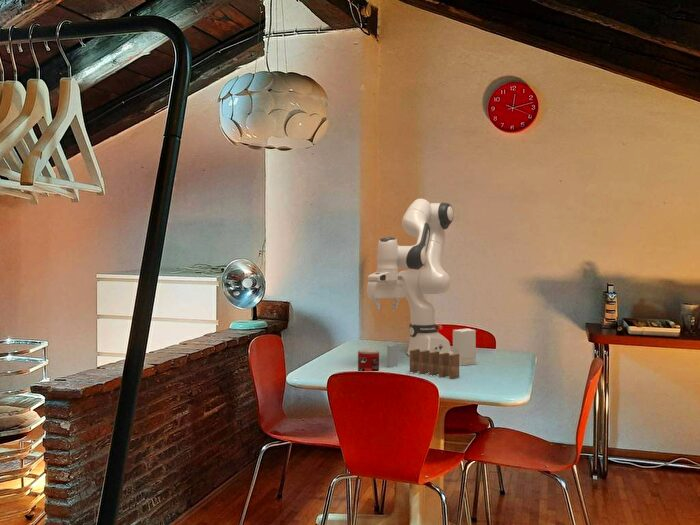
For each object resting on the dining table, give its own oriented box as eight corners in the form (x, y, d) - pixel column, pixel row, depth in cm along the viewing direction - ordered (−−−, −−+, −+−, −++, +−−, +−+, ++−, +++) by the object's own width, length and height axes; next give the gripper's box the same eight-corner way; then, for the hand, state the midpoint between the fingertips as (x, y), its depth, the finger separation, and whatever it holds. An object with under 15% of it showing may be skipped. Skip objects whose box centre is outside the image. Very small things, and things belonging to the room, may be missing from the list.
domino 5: (438, 377, 276) (439, 354, 276) (445, 375, 280) (445, 352, 280) (442, 377, 275) (442, 354, 275) (449, 375, 279) (449, 352, 279)
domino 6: (449, 378, 273) (449, 355, 273) (455, 376, 277) (455, 353, 277) (452, 379, 272) (452, 355, 272) (459, 377, 276) (459, 353, 276)
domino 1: (387, 367, 297) (387, 345, 296) (394, 365, 301) (394, 344, 300) (390, 367, 296) (390, 346, 295) (397, 365, 300) (397, 344, 299)
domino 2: (409, 373, 285) (409, 350, 284) (416, 371, 288) (416, 348, 288) (413, 373, 284) (413, 350, 283) (419, 371, 288) (419, 349, 287)
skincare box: (468, 362, 308) (468, 328, 308) (476, 364, 303) (476, 329, 302) (451, 363, 305) (452, 329, 304) (460, 366, 299) (460, 330, 299)
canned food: (357, 377, 276) (357, 348, 276) (377, 376, 277) (377, 348, 276) (359, 381, 268) (359, 352, 268) (380, 380, 269) (380, 351, 269)
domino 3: (419, 374, 282) (419, 351, 281) (426, 372, 286) (426, 350, 285) (422, 374, 281) (422, 352, 280) (429, 372, 285) (429, 350, 284)
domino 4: (429, 375, 279) (429, 352, 279) (435, 373, 283) (435, 351, 283) (432, 376, 278) (432, 353, 278) (439, 374, 282) (439, 351, 282)
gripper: (398, 275, 308) (398, 307, 309) (364, 276, 295) (364, 309, 295) (409, 276, 304) (409, 308, 304) (375, 276, 290) (374, 310, 290)
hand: (386, 309), depth 299 cm, fingers open, 8 cm apart
